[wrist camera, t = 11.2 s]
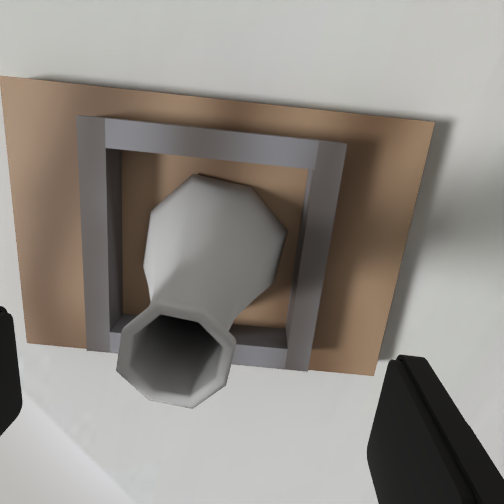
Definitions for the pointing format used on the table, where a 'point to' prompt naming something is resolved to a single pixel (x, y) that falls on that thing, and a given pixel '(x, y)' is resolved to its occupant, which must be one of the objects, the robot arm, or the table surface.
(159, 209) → the flask
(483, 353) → the table surface
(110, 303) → the walnut board
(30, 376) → the table surface
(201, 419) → the table surface
